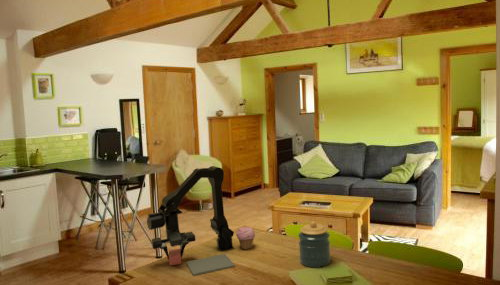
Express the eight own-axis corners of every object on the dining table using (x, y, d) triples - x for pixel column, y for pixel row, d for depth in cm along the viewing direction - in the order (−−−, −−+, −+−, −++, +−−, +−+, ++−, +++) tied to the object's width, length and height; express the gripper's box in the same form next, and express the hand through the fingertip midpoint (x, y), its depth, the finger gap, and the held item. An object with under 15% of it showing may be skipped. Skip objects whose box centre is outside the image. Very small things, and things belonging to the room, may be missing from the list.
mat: (225, 255, 187) (225, 253, 187) (234, 266, 174) (234, 265, 174) (186, 263, 181) (186, 261, 180) (193, 275, 168) (193, 274, 167)
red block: (180, 256, 187) (180, 248, 187) (181, 263, 179) (180, 255, 179) (169, 258, 186) (168, 250, 186) (169, 265, 178) (168, 256, 178)
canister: (330, 268, 166) (328, 226, 164) (298, 267, 169) (296, 226, 167) (330, 255, 179) (329, 216, 177) (301, 255, 181) (299, 216, 179)
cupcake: (234, 246, 197) (233, 226, 196) (250, 242, 200) (249, 223, 199) (242, 252, 189) (240, 231, 188) (258, 248, 192) (257, 228, 191)
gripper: (153, 233, 170) (156, 269, 172) (196, 226, 177) (199, 260, 178) (149, 226, 180) (153, 260, 182) (191, 219, 187) (194, 252, 189)
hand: (175, 258), depth 183 cm, fingers closed on red block, 5 cm apart
